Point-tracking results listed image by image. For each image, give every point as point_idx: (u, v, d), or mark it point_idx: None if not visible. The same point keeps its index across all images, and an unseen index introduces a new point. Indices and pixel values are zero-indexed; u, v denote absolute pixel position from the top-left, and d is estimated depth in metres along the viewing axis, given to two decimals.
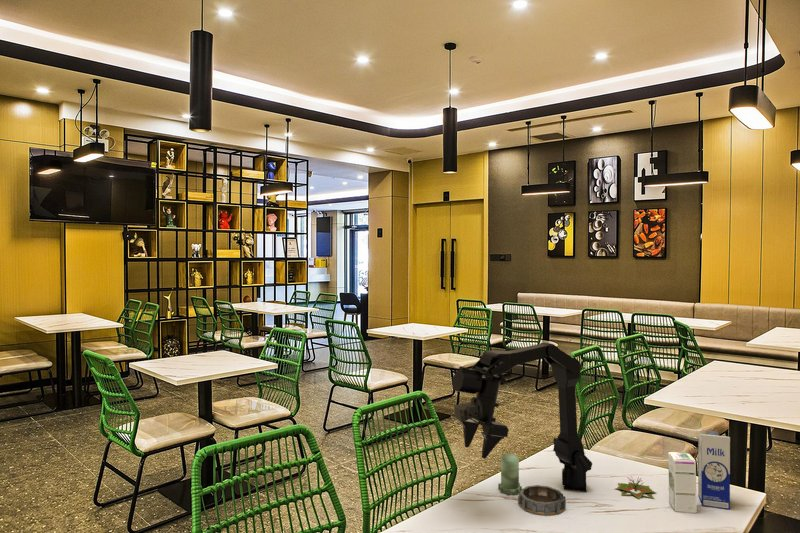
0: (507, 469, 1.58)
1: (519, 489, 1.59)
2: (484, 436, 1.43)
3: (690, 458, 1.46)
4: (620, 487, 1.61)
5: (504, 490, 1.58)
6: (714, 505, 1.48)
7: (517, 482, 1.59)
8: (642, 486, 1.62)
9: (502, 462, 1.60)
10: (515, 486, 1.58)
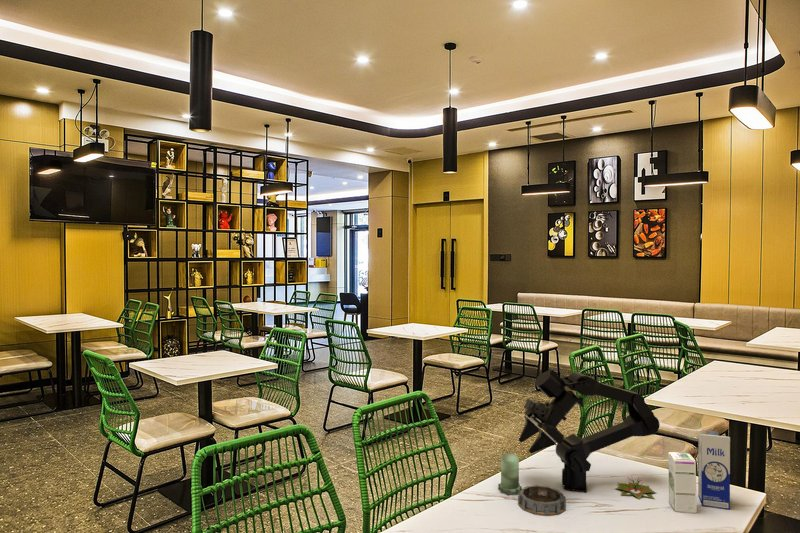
0: (507, 469, 1.58)
1: (519, 489, 1.59)
2: (540, 433, 1.55)
3: (690, 458, 1.46)
4: (620, 487, 1.61)
5: (504, 490, 1.58)
6: (714, 505, 1.48)
7: (517, 482, 1.59)
8: (642, 486, 1.62)
9: (502, 462, 1.60)
10: (515, 486, 1.58)
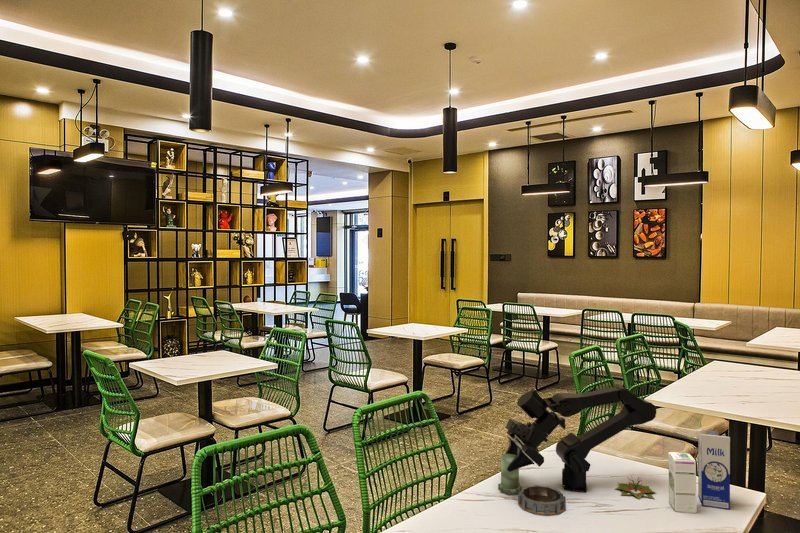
0: None
1: (519, 489, 1.59)
2: (518, 452, 1.56)
3: (690, 458, 1.46)
4: (620, 487, 1.61)
5: (504, 490, 1.58)
6: (714, 505, 1.48)
7: (517, 482, 1.59)
8: (642, 486, 1.62)
9: (501, 462, 1.60)
10: (515, 486, 1.58)
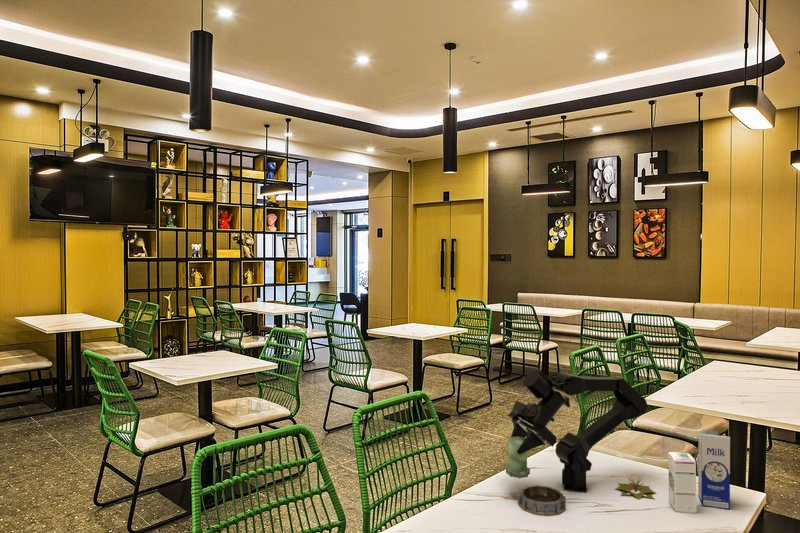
0: None
1: (528, 471, 1.56)
2: (529, 433, 1.53)
3: (690, 458, 1.46)
4: (620, 487, 1.61)
5: (514, 474, 1.54)
6: (714, 505, 1.48)
7: (526, 464, 1.56)
8: (642, 486, 1.62)
9: (510, 445, 1.56)
10: (524, 469, 1.55)
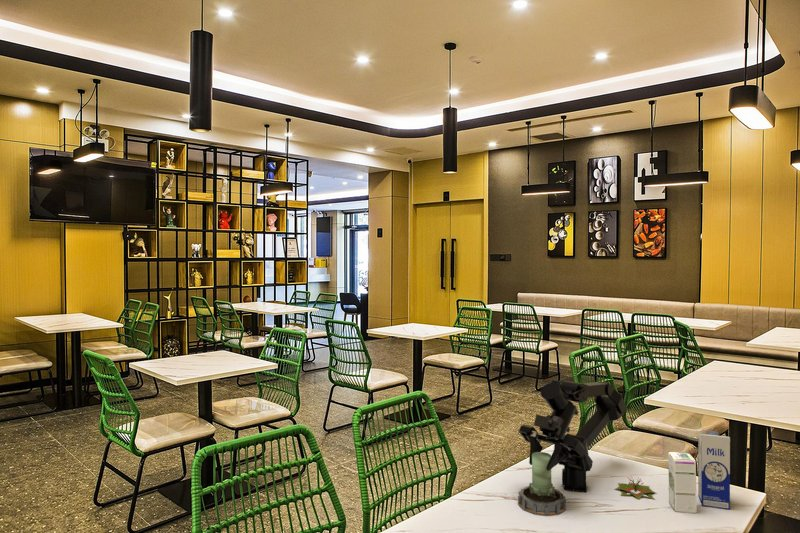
0: (545, 468, 1.48)
1: None
2: (557, 447, 1.48)
3: (690, 458, 1.46)
4: (620, 487, 1.61)
5: (543, 492, 1.48)
6: (714, 505, 1.48)
7: None
8: (642, 486, 1.62)
9: (537, 462, 1.49)
10: (551, 484, 1.50)
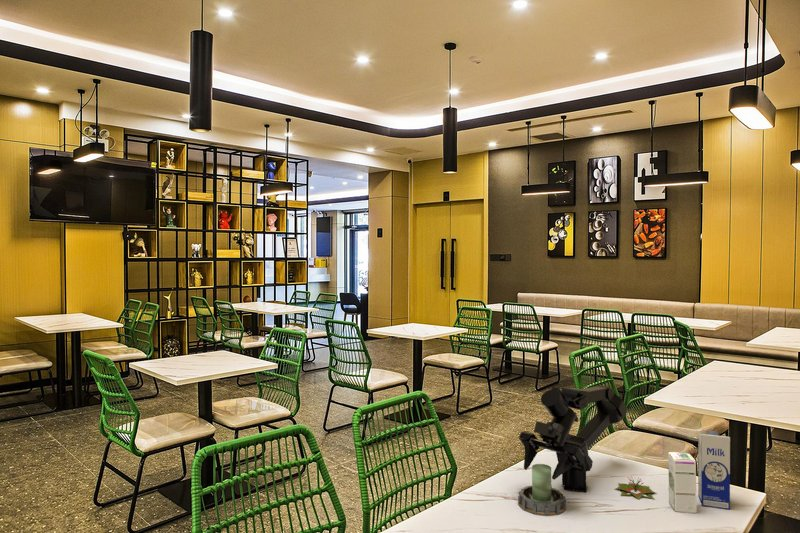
0: (545, 480, 1.48)
1: None
2: (563, 456, 1.47)
3: (690, 458, 1.46)
4: (620, 487, 1.61)
5: None
6: (714, 505, 1.48)
7: None
8: (642, 486, 1.62)
9: (538, 474, 1.49)
10: (551, 497, 1.50)
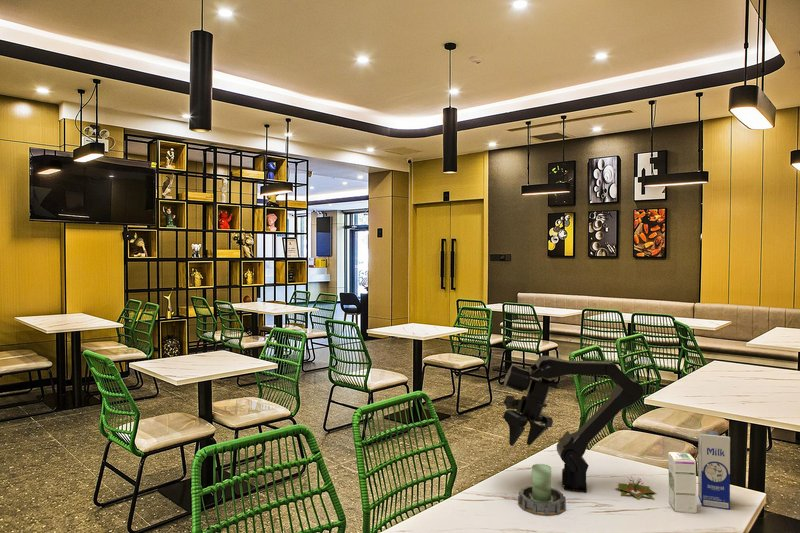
0: (545, 480, 1.48)
1: None
2: None
3: (690, 458, 1.46)
4: (620, 487, 1.61)
5: None
6: (714, 505, 1.48)
7: None
8: (642, 486, 1.62)
9: (538, 474, 1.49)
10: (551, 497, 1.50)
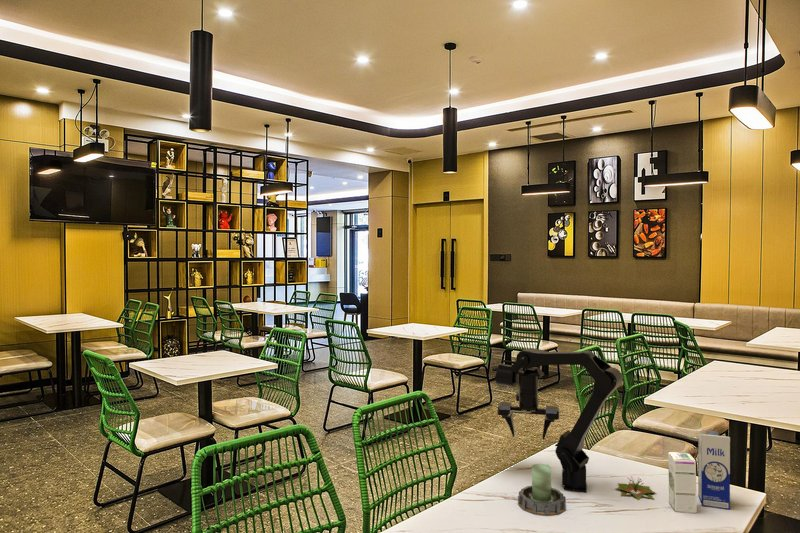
0: (545, 480, 1.48)
1: None
2: None
3: (690, 458, 1.46)
4: (620, 487, 1.61)
5: None
6: (714, 505, 1.48)
7: None
8: (642, 486, 1.62)
9: (538, 474, 1.49)
10: (551, 497, 1.50)
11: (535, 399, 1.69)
